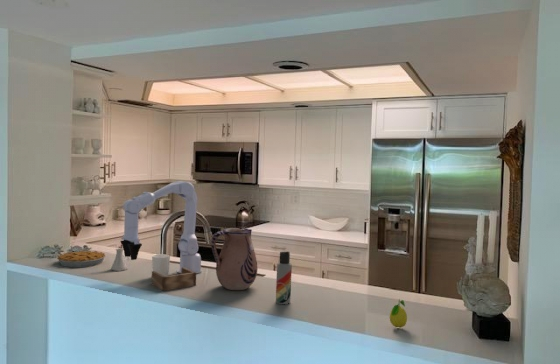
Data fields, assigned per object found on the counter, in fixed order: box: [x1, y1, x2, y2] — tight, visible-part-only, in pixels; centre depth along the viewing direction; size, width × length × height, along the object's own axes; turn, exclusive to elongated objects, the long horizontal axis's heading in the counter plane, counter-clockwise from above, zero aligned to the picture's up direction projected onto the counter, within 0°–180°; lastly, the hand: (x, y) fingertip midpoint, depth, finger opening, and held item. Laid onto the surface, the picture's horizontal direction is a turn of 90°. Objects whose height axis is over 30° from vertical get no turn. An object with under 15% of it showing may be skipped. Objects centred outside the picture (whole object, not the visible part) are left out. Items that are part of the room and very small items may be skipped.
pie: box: [57, 250, 106, 268], centre depth 219 cm, size 22×22×5 cm
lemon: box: [389, 298, 408, 328], centre depth 143 cm, size 7×6×10 cm
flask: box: [110, 248, 128, 272], centre depth 208 cm, size 7×7×10 cm
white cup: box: [151, 253, 171, 276], centre depth 196 cm, size 8×8×10 cm
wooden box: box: [151, 267, 197, 291], centre depth 185 cm, size 15×12×6 cm
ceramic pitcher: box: [210, 227, 258, 291], centre depth 183 cm, size 18×21×25 cm
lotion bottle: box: [275, 251, 293, 305], centre depth 166 cm, size 6×6×20 cm
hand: (130, 257), depth 189 cm, fingers open, 7 cm apart
